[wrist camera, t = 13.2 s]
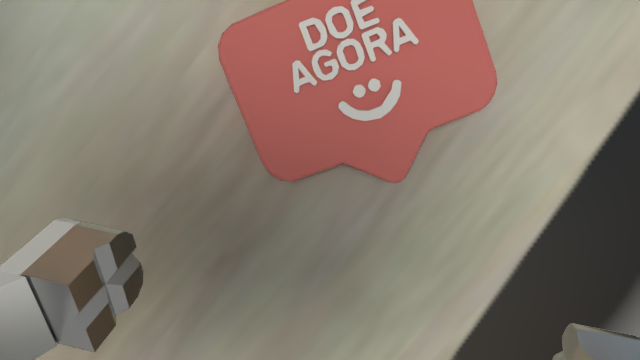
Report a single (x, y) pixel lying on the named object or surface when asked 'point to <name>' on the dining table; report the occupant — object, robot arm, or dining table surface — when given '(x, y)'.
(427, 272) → the dining table surface
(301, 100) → the plaque
